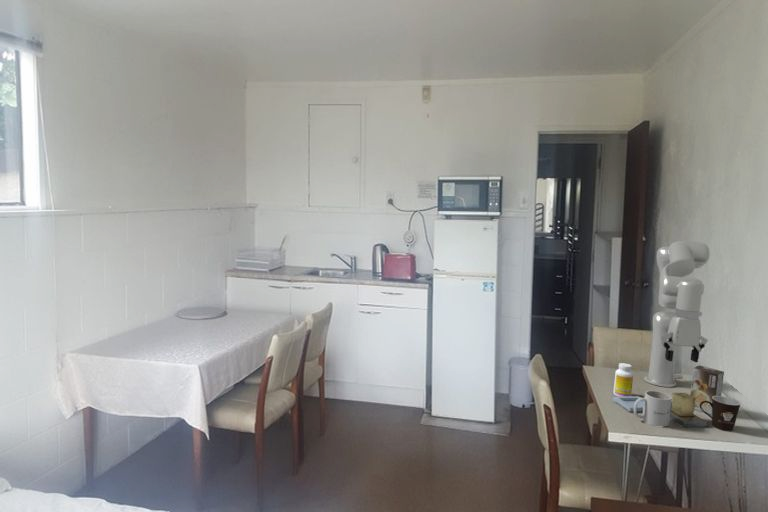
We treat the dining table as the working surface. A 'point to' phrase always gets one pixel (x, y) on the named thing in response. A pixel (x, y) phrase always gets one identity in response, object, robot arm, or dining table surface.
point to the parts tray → (629, 403)
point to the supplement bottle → (623, 380)
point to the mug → (655, 408)
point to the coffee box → (706, 386)
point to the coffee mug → (723, 412)
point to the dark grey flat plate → (688, 420)
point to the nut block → (683, 405)
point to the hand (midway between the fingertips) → (681, 360)
